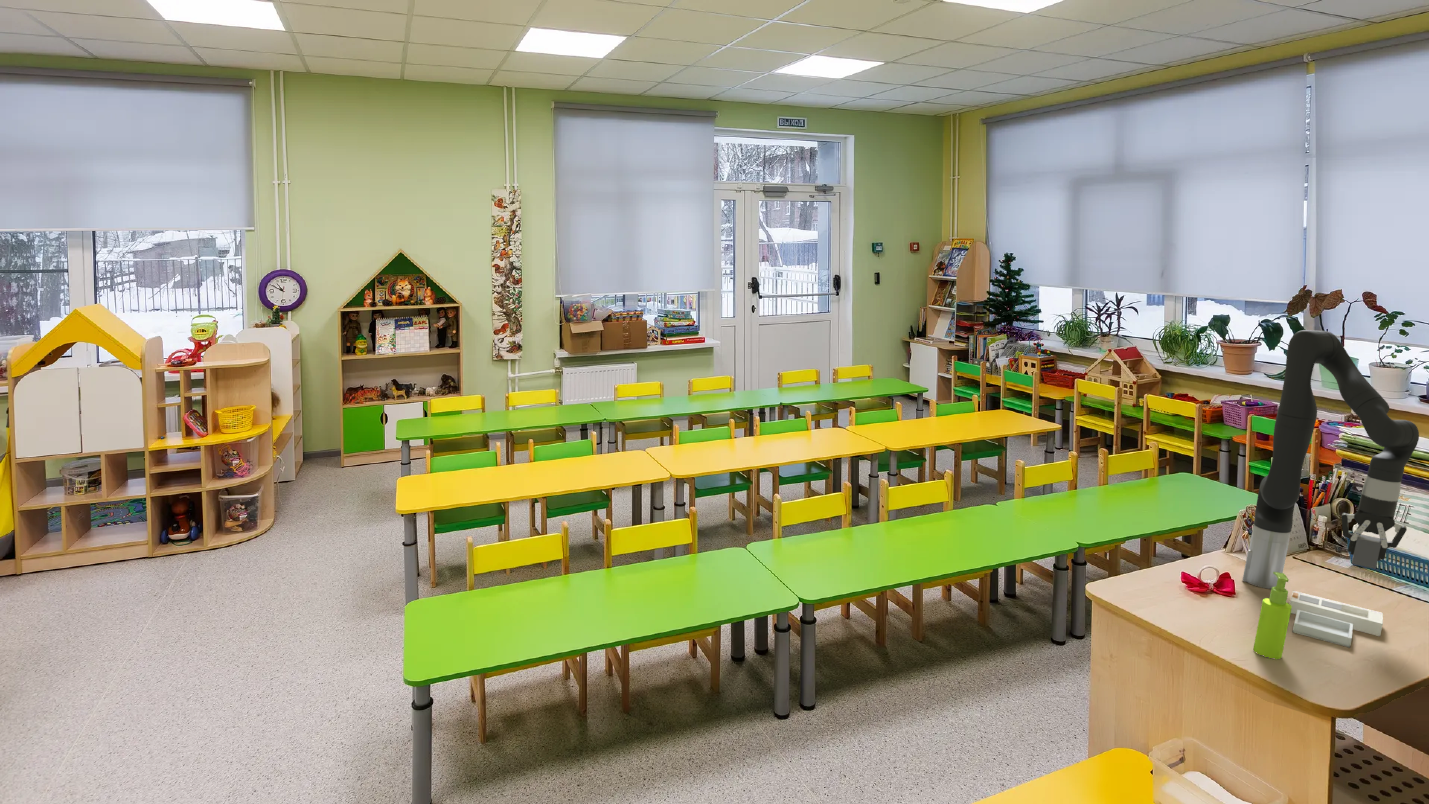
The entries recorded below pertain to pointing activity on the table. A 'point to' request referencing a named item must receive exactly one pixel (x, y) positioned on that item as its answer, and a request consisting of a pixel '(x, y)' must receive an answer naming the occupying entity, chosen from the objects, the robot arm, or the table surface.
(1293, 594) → the power strip
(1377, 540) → the block
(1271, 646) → the soap dispenser
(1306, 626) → the tray
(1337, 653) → the table surface
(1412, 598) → the table surface
